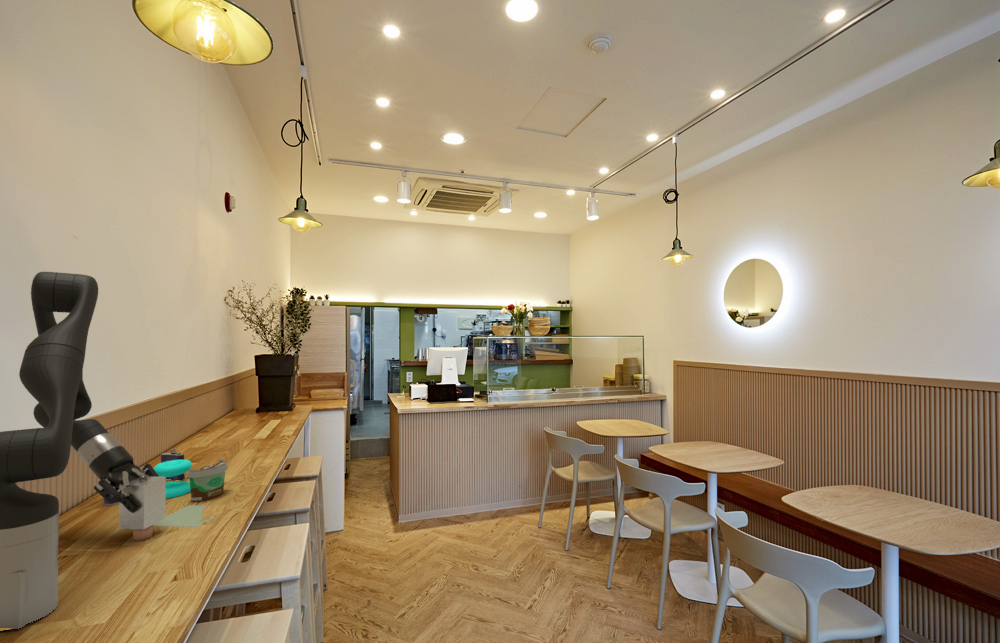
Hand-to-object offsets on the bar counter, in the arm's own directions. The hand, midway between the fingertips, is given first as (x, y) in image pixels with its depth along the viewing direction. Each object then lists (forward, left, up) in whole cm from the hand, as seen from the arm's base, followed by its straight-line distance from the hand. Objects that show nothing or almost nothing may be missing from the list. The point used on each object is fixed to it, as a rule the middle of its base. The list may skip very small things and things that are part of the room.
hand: (149, 504), depth 113 cm
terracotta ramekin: (0, +1, -8) cm, 8 cm away
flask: (+50, +18, -9) cm, 54 cm away
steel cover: (0, +2, -5) cm, 5 cm away
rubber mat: (+12, -5, -8) cm, 15 cm away
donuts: (+33, +10, -9) cm, 36 cm away
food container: (+27, -4, -9) cm, 29 cm away
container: (+29, +24, -8) cm, 39 cm away
